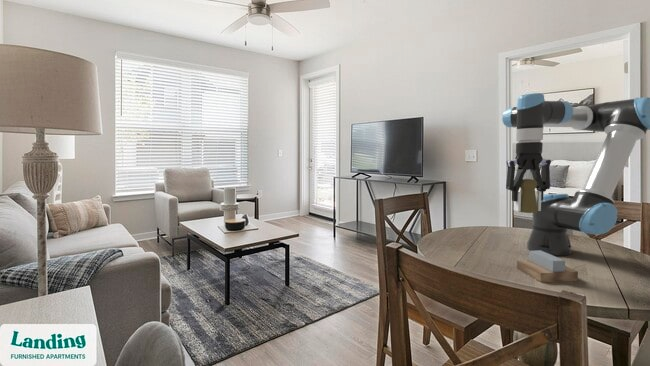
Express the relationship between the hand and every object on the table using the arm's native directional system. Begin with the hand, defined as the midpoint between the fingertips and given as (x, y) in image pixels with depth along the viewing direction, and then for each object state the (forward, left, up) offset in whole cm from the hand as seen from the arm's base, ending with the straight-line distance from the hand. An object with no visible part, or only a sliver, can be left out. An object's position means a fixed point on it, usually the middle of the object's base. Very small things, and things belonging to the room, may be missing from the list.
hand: (527, 210), depth 112 cm
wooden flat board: (-4, +5, -21) cm, 22 cm away
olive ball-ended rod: (0, 0, 0) cm, 0 cm away
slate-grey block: (-4, +4, -18) cm, 19 cm away
